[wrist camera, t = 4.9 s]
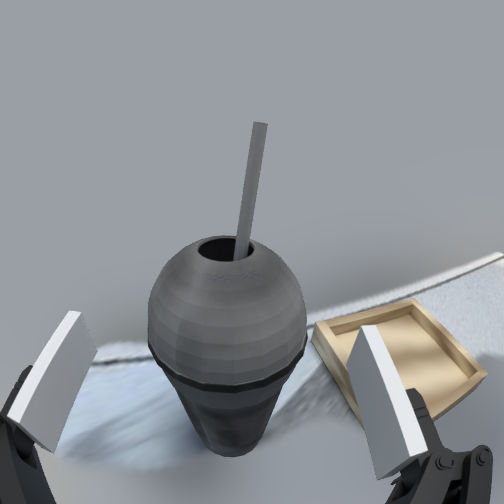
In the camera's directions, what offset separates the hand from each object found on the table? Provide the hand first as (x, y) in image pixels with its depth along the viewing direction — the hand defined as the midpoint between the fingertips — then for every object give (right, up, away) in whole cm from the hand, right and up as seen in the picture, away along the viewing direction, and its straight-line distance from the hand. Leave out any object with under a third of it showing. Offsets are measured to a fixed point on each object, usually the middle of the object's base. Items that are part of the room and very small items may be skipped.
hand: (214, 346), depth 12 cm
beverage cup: (0, -9, +6) cm, 11 cm away
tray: (+16, -7, +11) cm, 21 cm away
